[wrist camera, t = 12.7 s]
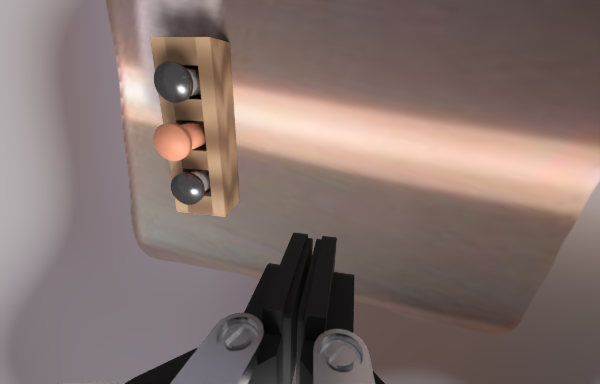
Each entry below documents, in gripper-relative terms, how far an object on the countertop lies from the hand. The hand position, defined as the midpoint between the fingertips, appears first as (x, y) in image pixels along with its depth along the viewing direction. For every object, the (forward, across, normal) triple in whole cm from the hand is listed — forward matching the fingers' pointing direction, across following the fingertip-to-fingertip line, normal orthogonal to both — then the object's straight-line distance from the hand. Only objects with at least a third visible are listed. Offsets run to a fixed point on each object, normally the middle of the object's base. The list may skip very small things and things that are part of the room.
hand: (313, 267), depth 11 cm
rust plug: (+25, +18, 0) cm, 31 cm away
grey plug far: (+26, +18, +6) cm, 33 cm away
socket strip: (+27, +18, 0) cm, 33 cm away
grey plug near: (+26, +18, -6) cm, 33 cm away
